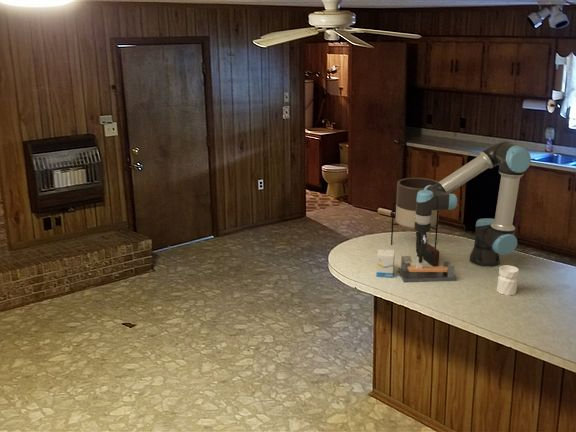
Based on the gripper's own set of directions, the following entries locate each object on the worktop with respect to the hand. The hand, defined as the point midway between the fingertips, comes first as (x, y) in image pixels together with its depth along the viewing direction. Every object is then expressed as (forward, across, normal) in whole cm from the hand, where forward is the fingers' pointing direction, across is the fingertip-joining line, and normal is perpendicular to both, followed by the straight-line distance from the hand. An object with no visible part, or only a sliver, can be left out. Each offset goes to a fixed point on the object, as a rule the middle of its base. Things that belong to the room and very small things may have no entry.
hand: (419, 267), depth 315 cm
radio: (+6, -21, +11) cm, 24 cm away
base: (+6, -2, +5) cm, 8 cm away
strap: (+2, 0, +5) cm, 5 cm away
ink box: (+6, -7, -15) cm, 18 cm away
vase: (+5, +19, +37) cm, 42 cm away
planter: (+6, -48, +12) cm, 50 cm away
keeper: (+4, -6, -5) cm, 8 cm away
